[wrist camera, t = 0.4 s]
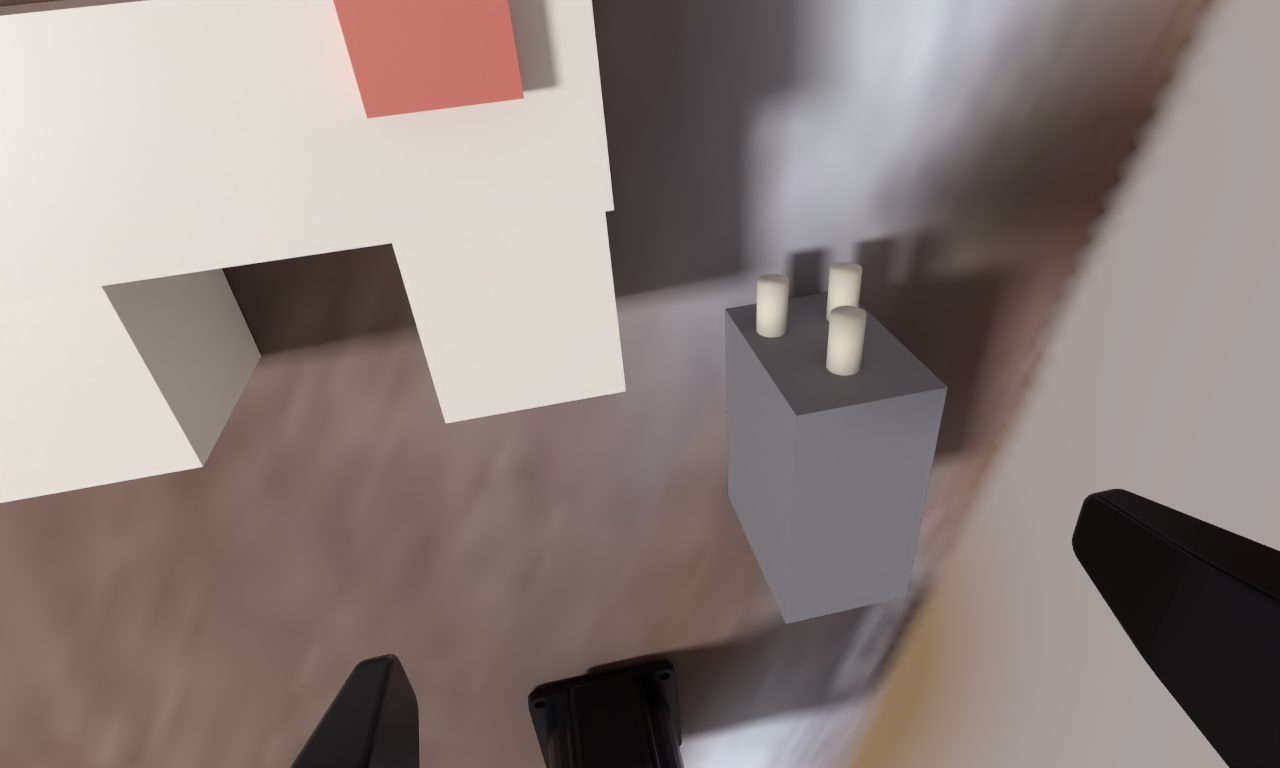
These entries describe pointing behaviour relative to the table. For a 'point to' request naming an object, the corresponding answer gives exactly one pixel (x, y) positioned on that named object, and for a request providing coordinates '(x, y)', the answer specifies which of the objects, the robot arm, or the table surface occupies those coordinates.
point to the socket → (287, 208)
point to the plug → (827, 445)
